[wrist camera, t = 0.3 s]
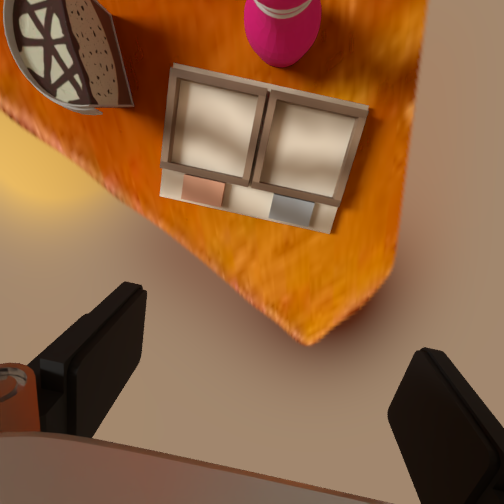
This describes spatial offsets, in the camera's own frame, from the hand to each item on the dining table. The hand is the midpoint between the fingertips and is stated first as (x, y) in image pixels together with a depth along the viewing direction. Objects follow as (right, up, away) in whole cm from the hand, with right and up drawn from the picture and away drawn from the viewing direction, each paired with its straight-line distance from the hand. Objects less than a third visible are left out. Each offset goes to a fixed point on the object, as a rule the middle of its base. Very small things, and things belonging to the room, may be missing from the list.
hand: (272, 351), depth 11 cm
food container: (-18, +25, +25) cm, 40 cm away
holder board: (0, +15, +27) cm, 31 cm away
